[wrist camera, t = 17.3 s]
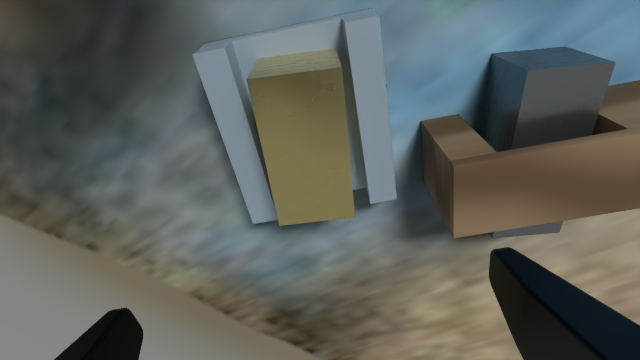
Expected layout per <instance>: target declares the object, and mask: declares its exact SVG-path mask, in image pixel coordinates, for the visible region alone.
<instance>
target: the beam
mask: <svg viewBox="0 0 640 360" xmlns="http://www.w3.org/2000/svg"><path fill="white" fill-rule="evenodd" d="M421 135H422V156H423V177H424V184H425V186H426V188H427V190H428V192H429V194H430V195H431V197H432V199H433V201H434V203H435V205H436V207H437V209H438V210H439V212H440V214H441V216H442V218H443V220H444V222H445V223H446V225H447V227H448V229H449V231H450V233H451V235H452V236H453V238H459V237H466V236H472V235H478V234H484V233H490V232H496V231H502V230H509V229H515V228H521V227H527V226H533V225H539V224H545V223H552V222H558V221H564V220H570V219H576V218H582V217H589V216H595V215H601V214H607V213H613V212H619V211H625V210H632V209H638V208H640V80H639V81H634V82H628V83H623V84H618V85H612V86H608V87H607V90H606V93H605V96H604V99H603V102H602V105H601V108H600V111H599V114H598V117H597V120H596V123H595V126H594V129H593V132H592V135H591V136H586V137H580V138H574V139H569V140H563V141H558V142H552V143H546V144H541V145H535V146H529V147H524V148H518V149H513V150H507V151H501V152H496V151H495V150H494V149H493V148H492V147H491V146H490V145H489V144H488V143H487V142H486V141H485V140H484V139H483V138H482V137H481V136H480V135H479V134H478V133H477V132H476V131H475V130H474V129H473V128H472V127H471V126H470V125H468V124H467V123H466V122H465V121H464V120H463V119H462V118H461V117H460V116H459V115H458V114H457V115H451V116H446V117H441V118H435V119H430V120H425V121H421Z"/></svg>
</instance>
